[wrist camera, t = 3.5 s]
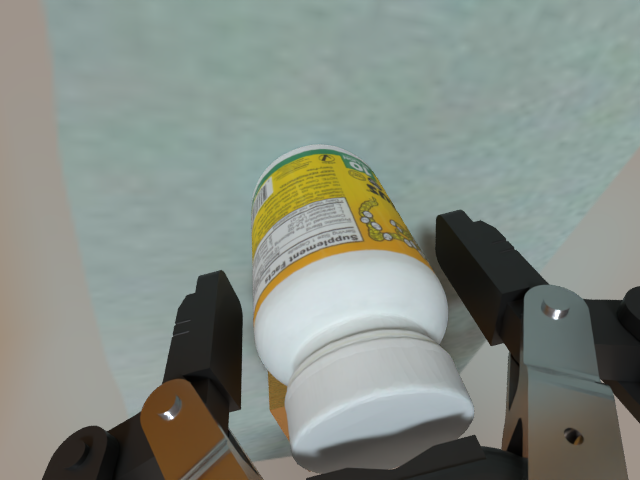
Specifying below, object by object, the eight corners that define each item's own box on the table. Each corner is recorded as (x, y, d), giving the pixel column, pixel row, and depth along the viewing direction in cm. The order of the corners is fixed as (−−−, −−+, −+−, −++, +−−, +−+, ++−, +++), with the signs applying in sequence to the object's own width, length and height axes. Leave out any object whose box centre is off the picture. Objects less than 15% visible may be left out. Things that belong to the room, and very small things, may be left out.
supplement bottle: (227, 173, 13) (198, 433, 6) (357, 117, 13) (507, 325, 5) (284, 265, 17) (312, 505, 9) (389, 224, 16) (509, 443, 9)
